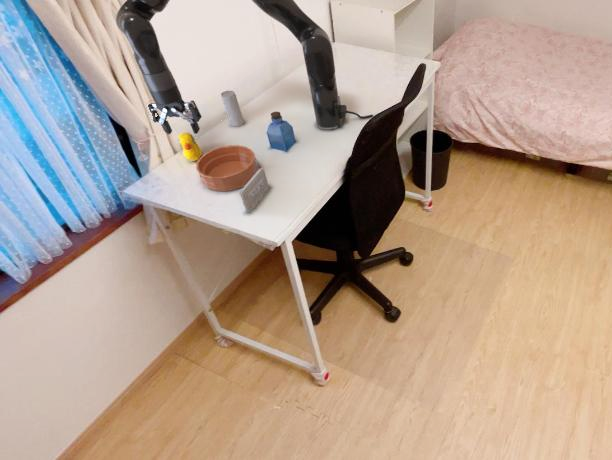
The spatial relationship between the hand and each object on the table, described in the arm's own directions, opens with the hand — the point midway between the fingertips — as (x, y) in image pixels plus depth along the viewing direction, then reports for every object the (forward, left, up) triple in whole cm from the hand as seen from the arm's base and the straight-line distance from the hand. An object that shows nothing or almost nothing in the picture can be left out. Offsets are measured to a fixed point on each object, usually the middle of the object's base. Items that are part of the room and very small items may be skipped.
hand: (183, 132), depth 137 cm
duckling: (0, 0, -10) cm, 10 cm away
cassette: (-27, +21, -10) cm, 35 cm away
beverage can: (-8, -22, -10) cm, 26 cm away
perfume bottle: (-28, -8, -10) cm, 31 cm away
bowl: (-15, +9, -10) cm, 20 cm away
